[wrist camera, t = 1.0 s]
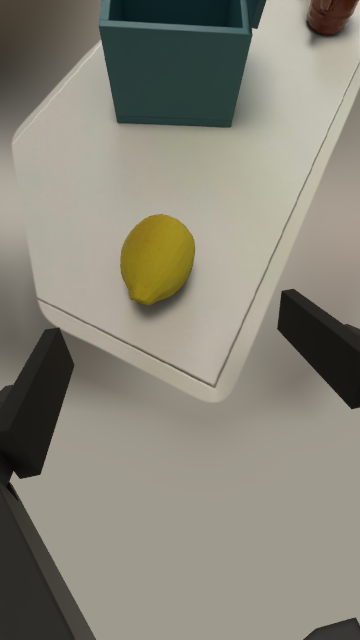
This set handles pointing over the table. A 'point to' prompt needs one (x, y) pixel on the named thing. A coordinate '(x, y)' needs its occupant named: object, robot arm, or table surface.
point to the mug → (330, 15)
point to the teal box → (175, 59)
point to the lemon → (156, 258)
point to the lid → (255, 11)
